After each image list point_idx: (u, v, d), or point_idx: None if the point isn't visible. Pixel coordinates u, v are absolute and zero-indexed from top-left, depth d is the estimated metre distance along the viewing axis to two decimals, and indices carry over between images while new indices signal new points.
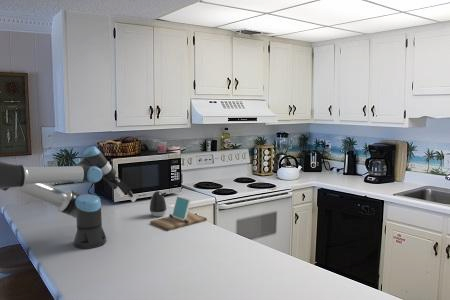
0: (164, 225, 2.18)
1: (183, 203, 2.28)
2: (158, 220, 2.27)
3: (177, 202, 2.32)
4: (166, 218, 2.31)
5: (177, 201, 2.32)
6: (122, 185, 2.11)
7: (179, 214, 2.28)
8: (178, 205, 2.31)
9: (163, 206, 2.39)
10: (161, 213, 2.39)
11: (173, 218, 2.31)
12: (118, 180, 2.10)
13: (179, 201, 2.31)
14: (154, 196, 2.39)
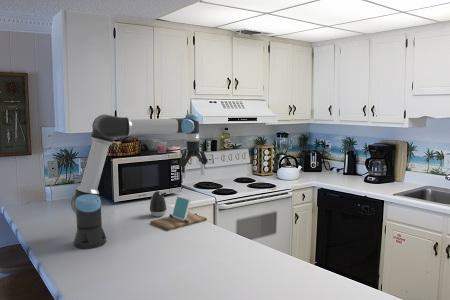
0: (164, 225, 2.18)
1: (183, 203, 2.28)
2: (158, 220, 2.27)
3: (177, 202, 2.32)
4: (166, 218, 2.31)
5: (177, 201, 2.32)
6: (181, 157, 2.27)
7: (179, 214, 2.28)
8: (178, 205, 2.31)
9: (163, 206, 2.39)
10: (161, 213, 2.39)
11: (173, 218, 2.31)
12: (183, 151, 2.27)
13: (179, 201, 2.31)
14: (154, 196, 2.39)
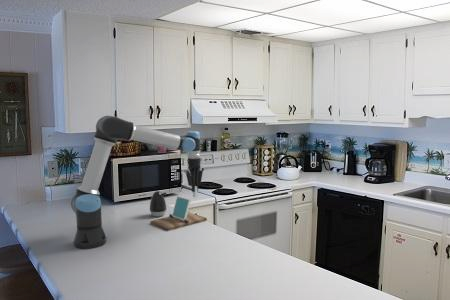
0: (164, 225, 2.18)
1: (183, 203, 2.28)
2: (158, 220, 2.27)
3: (177, 202, 2.32)
4: (166, 218, 2.31)
5: (177, 201, 2.32)
6: (187, 177, 2.31)
7: (179, 214, 2.28)
8: (178, 205, 2.31)
9: (163, 206, 2.39)
10: (161, 213, 2.39)
11: (173, 218, 2.31)
12: (186, 172, 2.29)
13: (179, 201, 2.31)
14: (154, 196, 2.39)
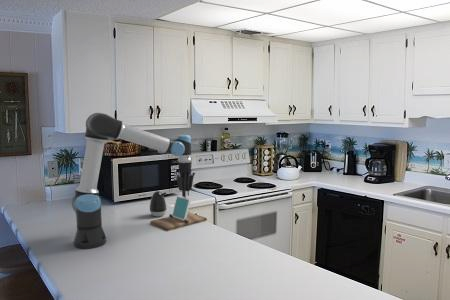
0: (164, 225, 2.18)
1: (183, 203, 2.28)
2: (158, 220, 2.27)
3: (177, 202, 2.32)
4: (166, 218, 2.31)
5: (177, 201, 2.32)
6: (178, 182, 2.27)
7: (179, 214, 2.28)
8: (178, 205, 2.31)
9: (163, 206, 2.39)
10: (161, 213, 2.39)
11: (173, 218, 2.31)
12: (176, 177, 2.25)
13: (179, 201, 2.31)
14: (154, 196, 2.39)
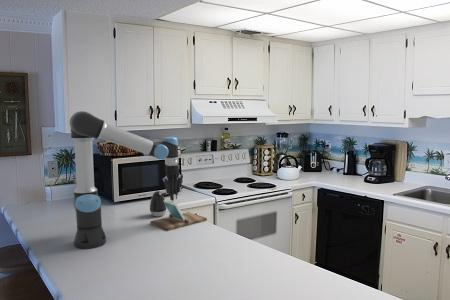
0: (164, 225, 2.18)
1: (172, 207, 2.23)
2: (158, 220, 2.27)
3: (167, 206, 2.27)
4: (166, 218, 2.31)
5: (166, 205, 2.27)
6: (165, 185, 2.21)
7: (176, 216, 2.27)
8: (170, 209, 2.27)
9: (163, 206, 2.39)
10: (161, 213, 2.39)
11: (173, 218, 2.31)
12: (163, 180, 2.19)
13: (168, 205, 2.26)
14: (154, 196, 2.39)
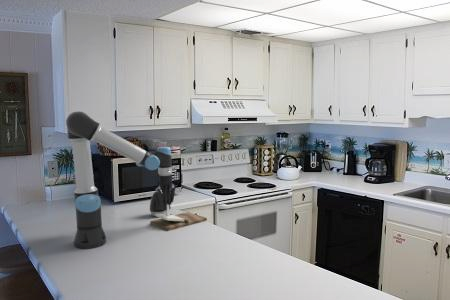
0: (164, 225, 2.18)
1: None
2: (158, 220, 2.27)
3: None
4: None
5: None
6: (158, 195, 2.18)
7: None
8: None
9: None
10: (161, 213, 2.39)
11: None
12: (156, 190, 2.17)
13: None
14: (154, 196, 2.39)
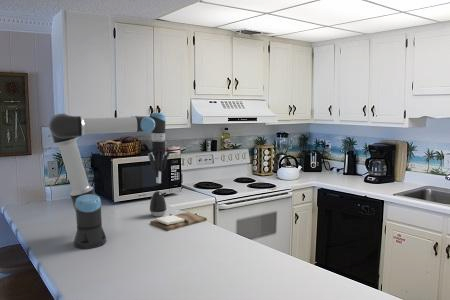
0: (164, 225, 2.18)
1: None
2: None
3: None
4: None
5: None
6: (150, 161, 2.17)
7: None
8: None
9: (163, 206, 2.39)
10: (161, 213, 2.39)
11: None
12: (149, 156, 2.15)
13: None
14: (154, 196, 2.39)
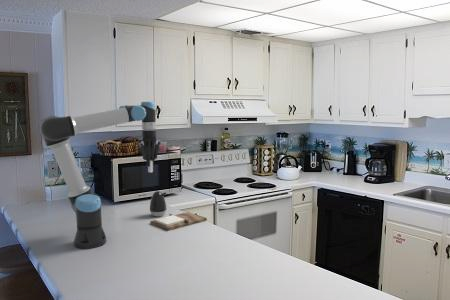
0: (164, 225, 2.18)
1: None
2: None
3: None
4: None
5: None
6: (141, 151, 2.16)
7: None
8: None
9: (163, 206, 2.39)
10: (161, 213, 2.39)
11: None
12: (139, 145, 2.14)
13: None
14: (154, 196, 2.39)
